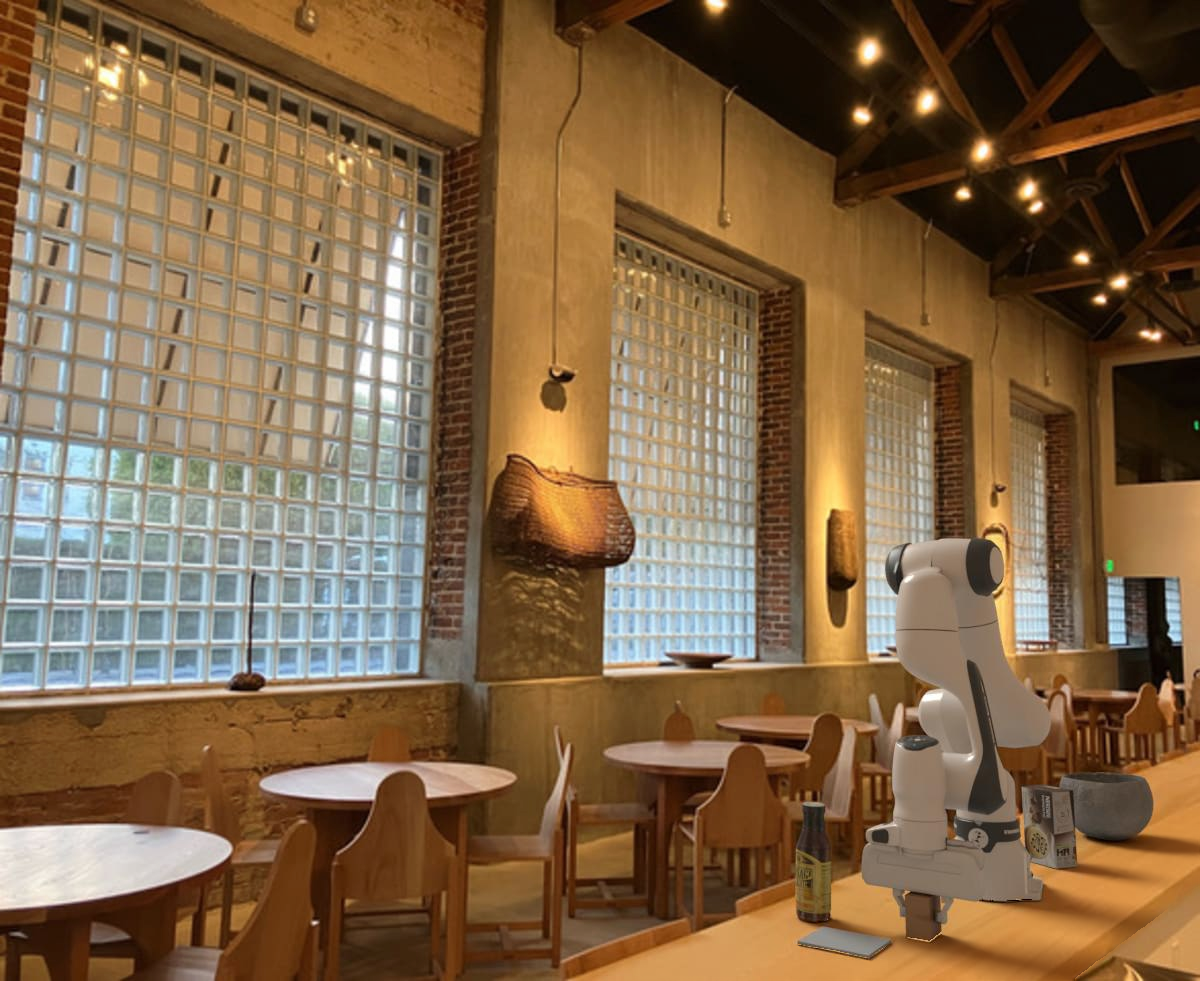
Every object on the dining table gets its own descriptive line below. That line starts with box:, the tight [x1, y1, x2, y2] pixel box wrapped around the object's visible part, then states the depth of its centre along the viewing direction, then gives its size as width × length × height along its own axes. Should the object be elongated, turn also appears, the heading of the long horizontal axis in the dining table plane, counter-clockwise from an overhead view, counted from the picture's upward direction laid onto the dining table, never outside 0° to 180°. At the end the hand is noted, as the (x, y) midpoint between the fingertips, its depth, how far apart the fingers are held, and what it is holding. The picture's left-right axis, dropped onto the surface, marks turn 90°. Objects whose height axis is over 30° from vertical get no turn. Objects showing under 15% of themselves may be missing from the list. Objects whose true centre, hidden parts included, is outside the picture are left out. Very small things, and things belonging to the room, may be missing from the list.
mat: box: [797, 926, 892, 958], centre depth 169 cm, size 10×12×1 cm
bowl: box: [1058, 771, 1154, 841], centre depth 252 cm, size 20×20×15 cm
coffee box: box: [1021, 784, 1078, 870], centre depth 226 cm, size 9×6×16 cm
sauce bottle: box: [794, 801, 832, 923], centre depth 184 cm, size 7×6×20 cm
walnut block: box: [904, 891, 942, 941], centre depth 174 cm, size 6×4×7 cm, turn 144°
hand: (923, 919), depth 173 cm, fingers open, 5 cm apart
